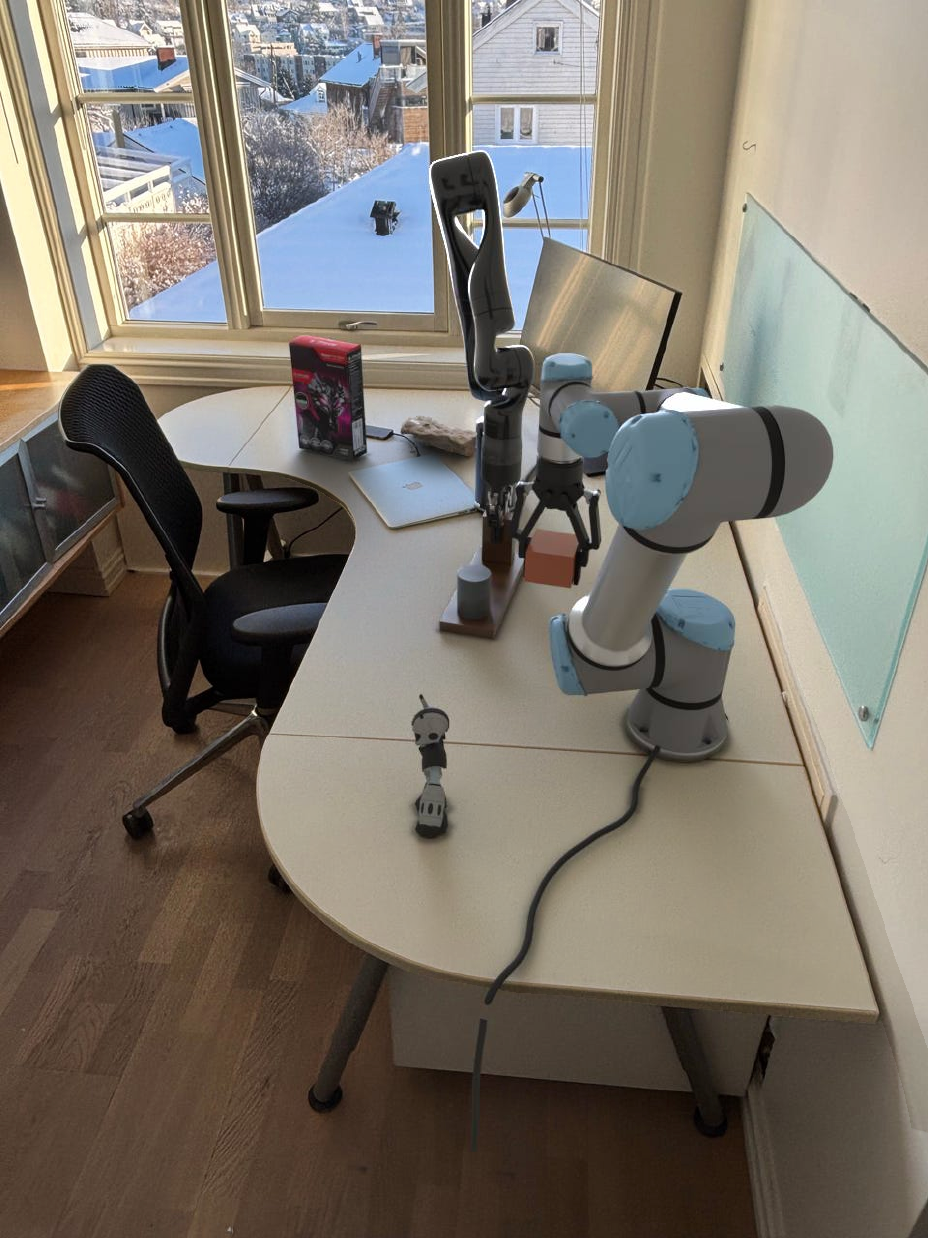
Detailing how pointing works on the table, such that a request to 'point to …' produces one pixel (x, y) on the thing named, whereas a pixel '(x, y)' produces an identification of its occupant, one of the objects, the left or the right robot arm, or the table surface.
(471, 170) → the left robot arm
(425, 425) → the stone
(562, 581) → the terracotta cap
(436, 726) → the robot
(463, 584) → the walnut stand
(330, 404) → the graphics card box
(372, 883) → the table surface
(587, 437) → the right robot arm
